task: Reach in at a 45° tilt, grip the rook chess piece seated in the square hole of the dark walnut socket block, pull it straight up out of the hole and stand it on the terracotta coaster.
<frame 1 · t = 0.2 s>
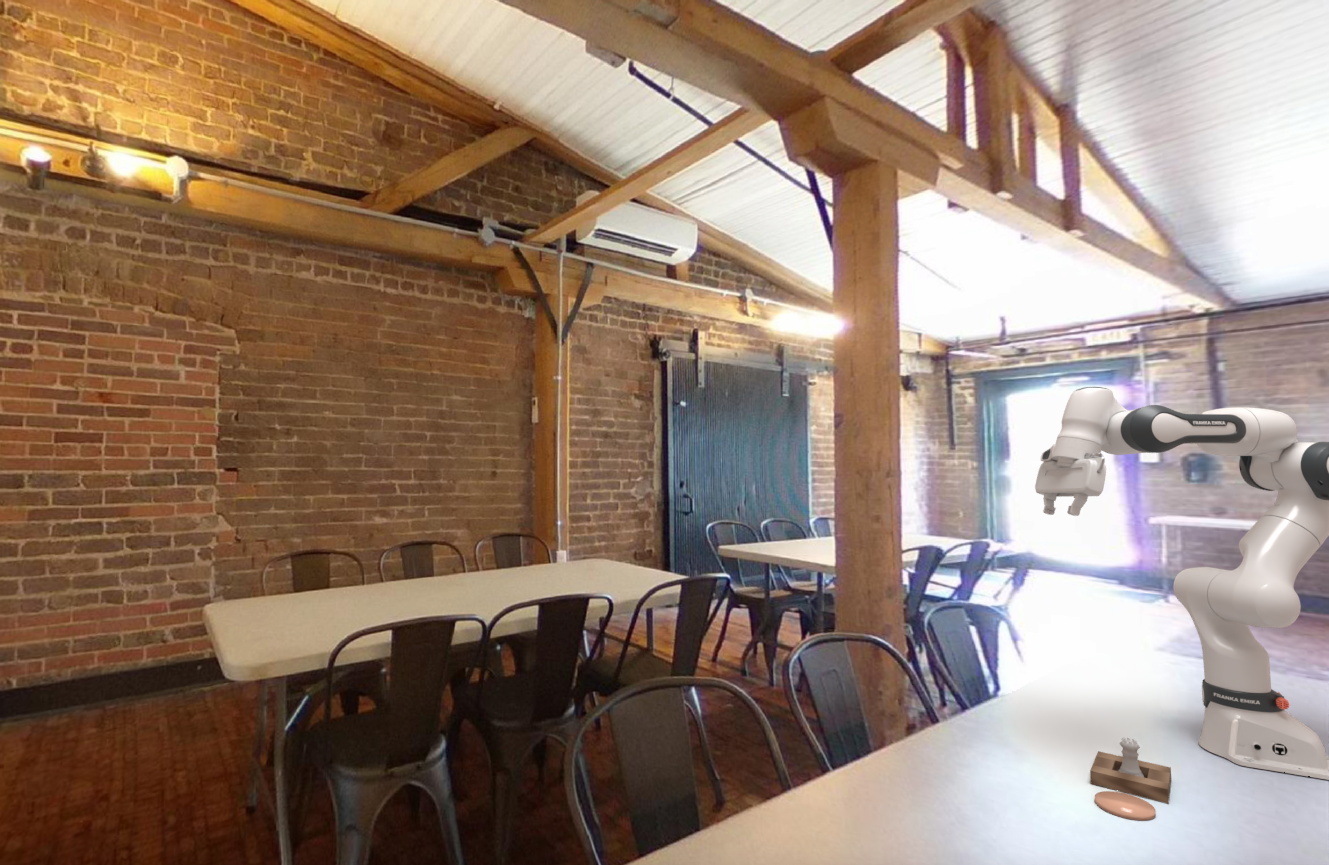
hand: (1060, 514, 146), 51 cm above the table, tool tilted 20°, fingers open, 8 cm apart
rook chess piece: (1131, 783, 128), resting in socket block
socket block: (1131, 782, 128), on the table
coaster: (1124, 807, 118), on the table
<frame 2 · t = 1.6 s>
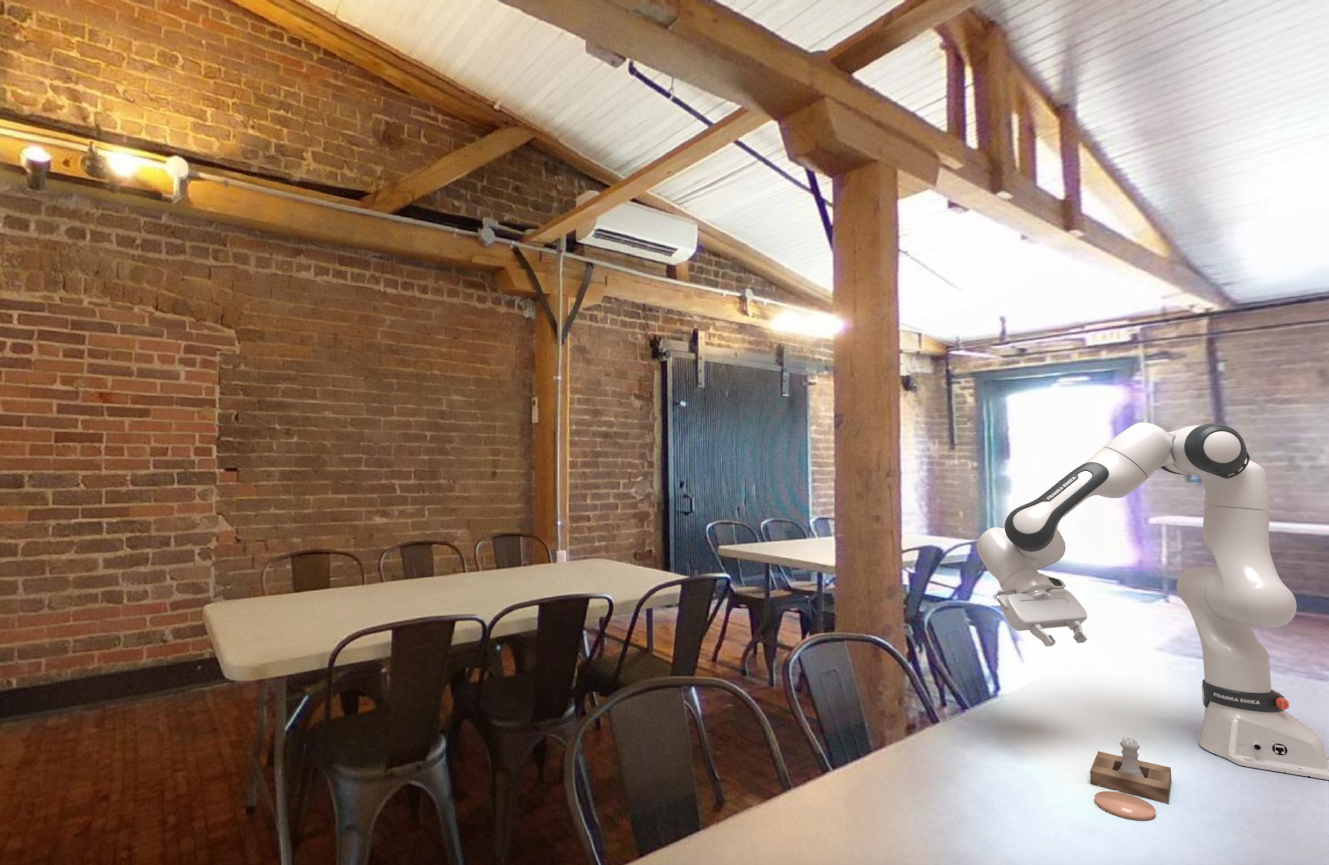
hand: (1067, 643, 141), 24 cm above the table, tool tilted 45°, fingers open, 8 cm apart
nothing on the table moved.
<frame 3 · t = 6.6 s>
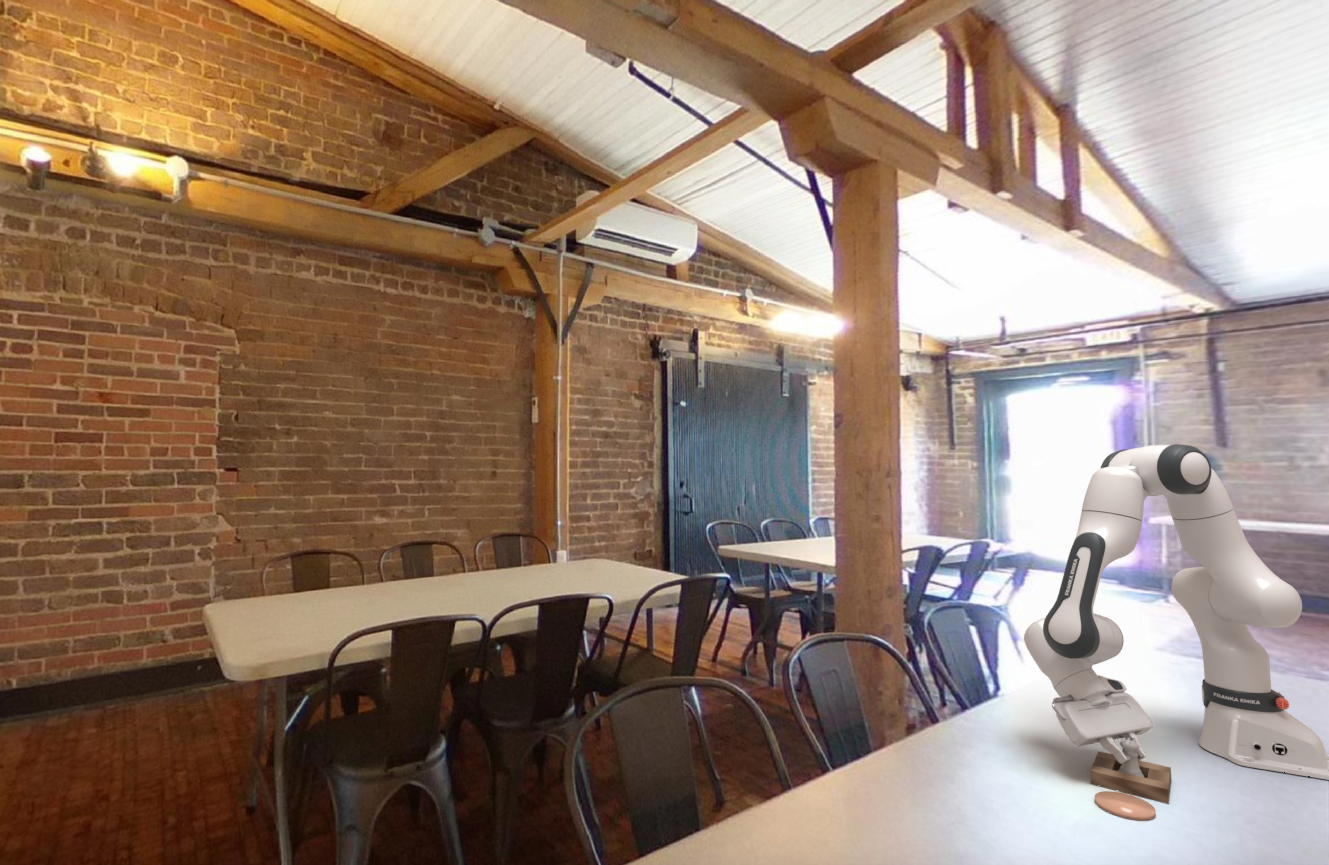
hand: (1133, 760, 128), 4 cm above the table, tool tilted 45°, fingers closed on rook chess piece, 3 cm apart
rook chess piece: (1131, 783, 128), resting in socket block, touching gripper
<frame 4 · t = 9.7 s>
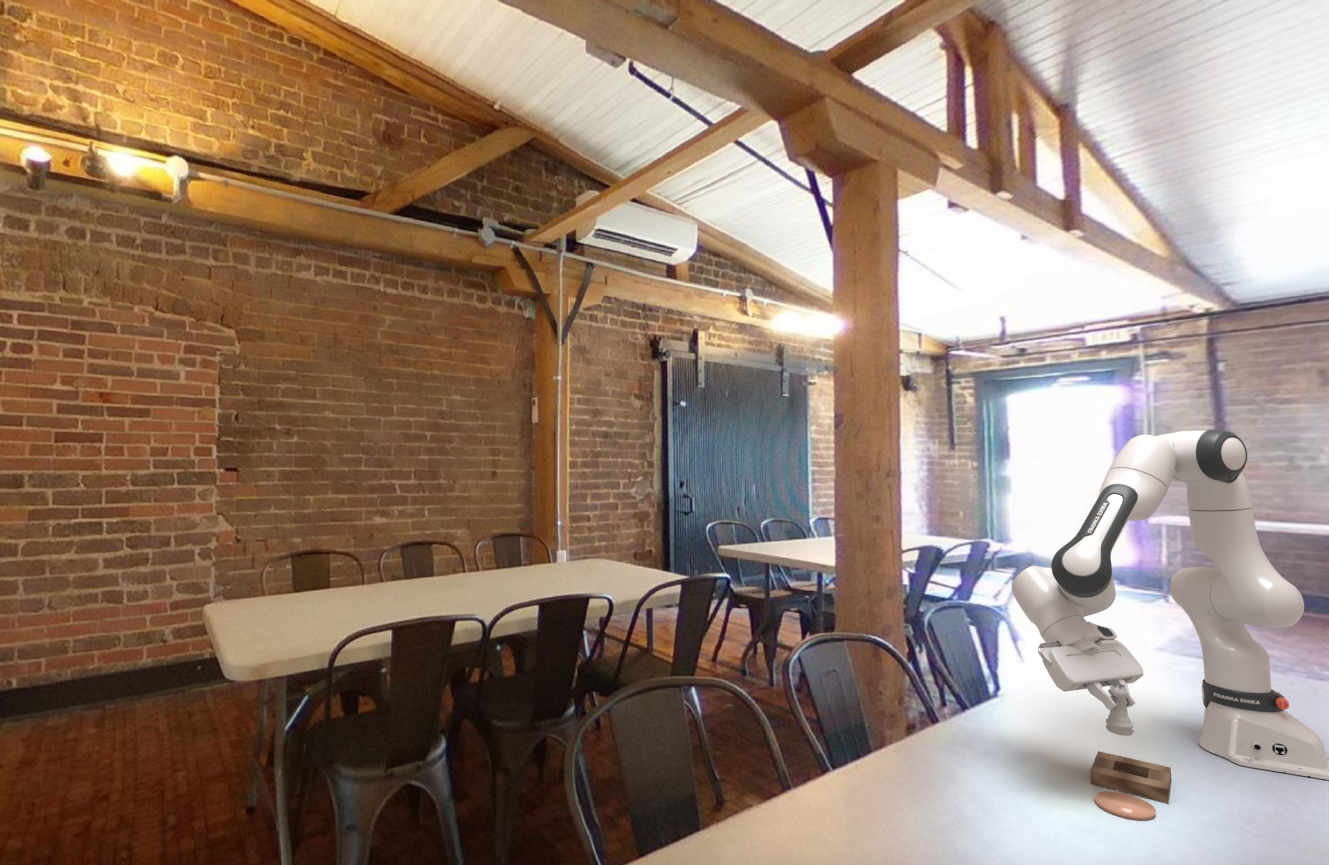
hand: (1122, 706, 121), 17 cm above the table, tool tilted 45°, fingers closed on rook chess piece, 3 cm apart
rook chess piece: (1119, 732, 122), point 12 cm above the table, touching gripper
when the fingers open (6 cm above the table, at t = 13.1 s): rook chess piece stays where it is, resting on coaster.
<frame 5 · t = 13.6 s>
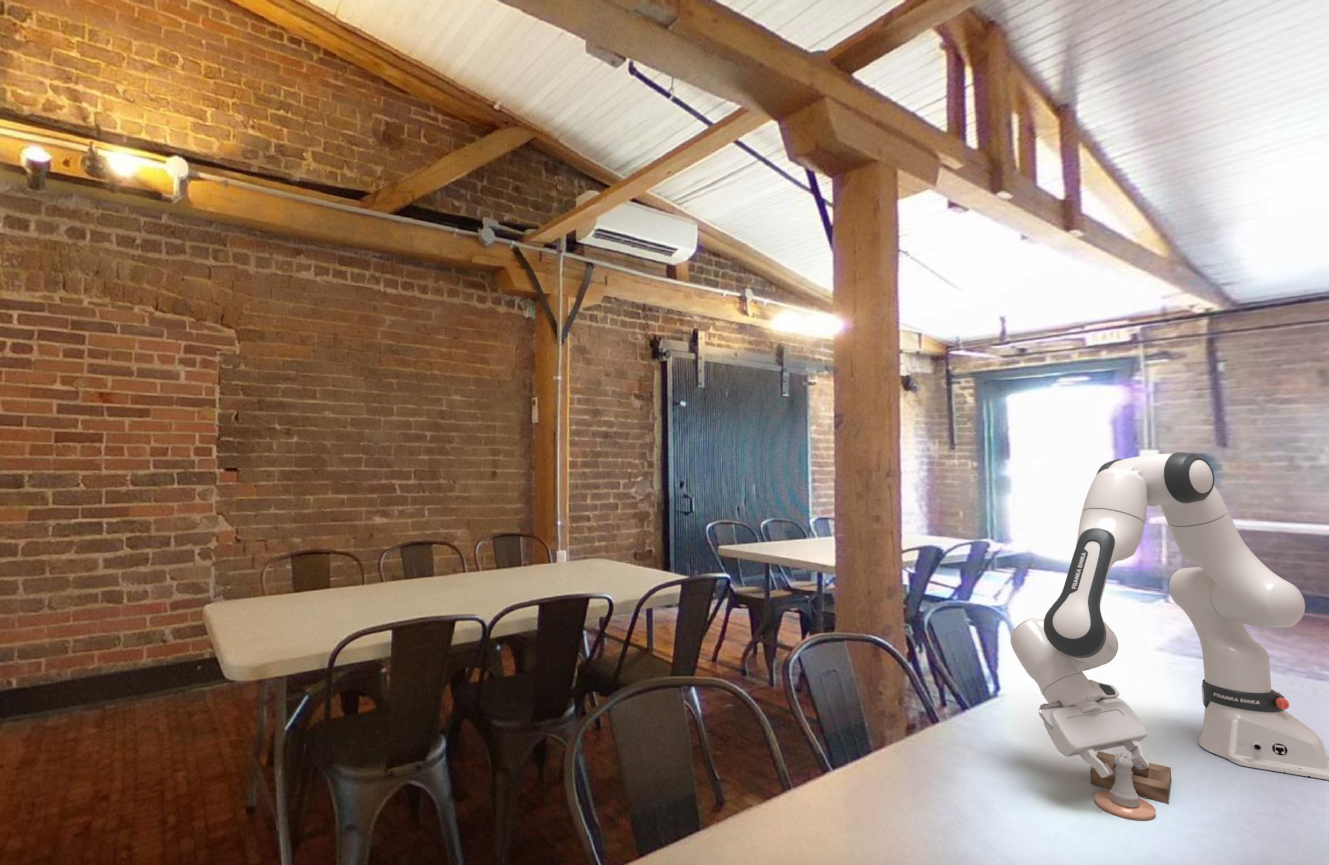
hand: (1126, 772, 118), 6 cm above the table, tool tilted 45°, fingers open, 8 cm apart
rook chess piece: (1124, 803, 118), point 1 cm above the table, touching coaster
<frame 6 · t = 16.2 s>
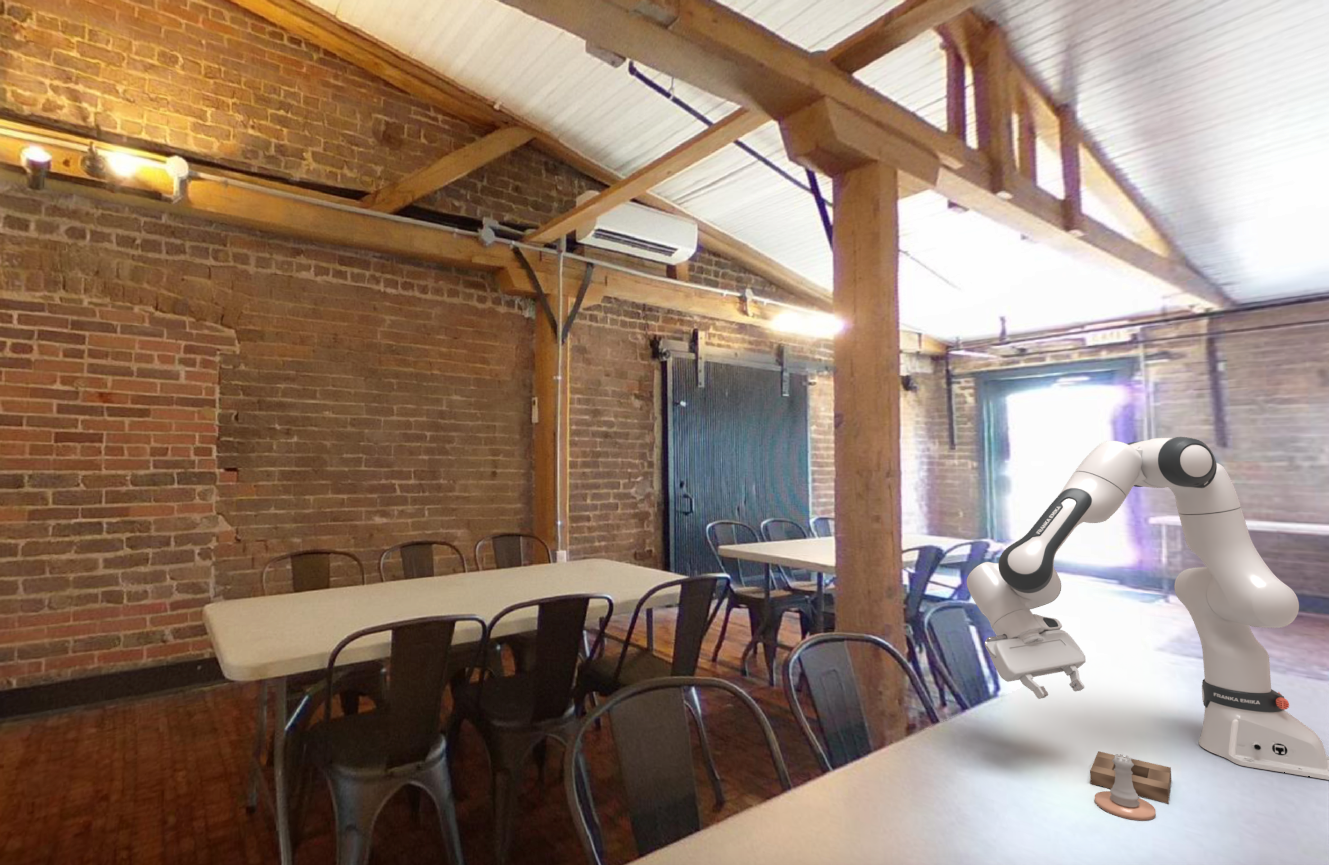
hand: (1062, 693, 132), 16 cm above the table, tool tilted 45°, fingers open, 8 cm apart
nothing on the table moved.
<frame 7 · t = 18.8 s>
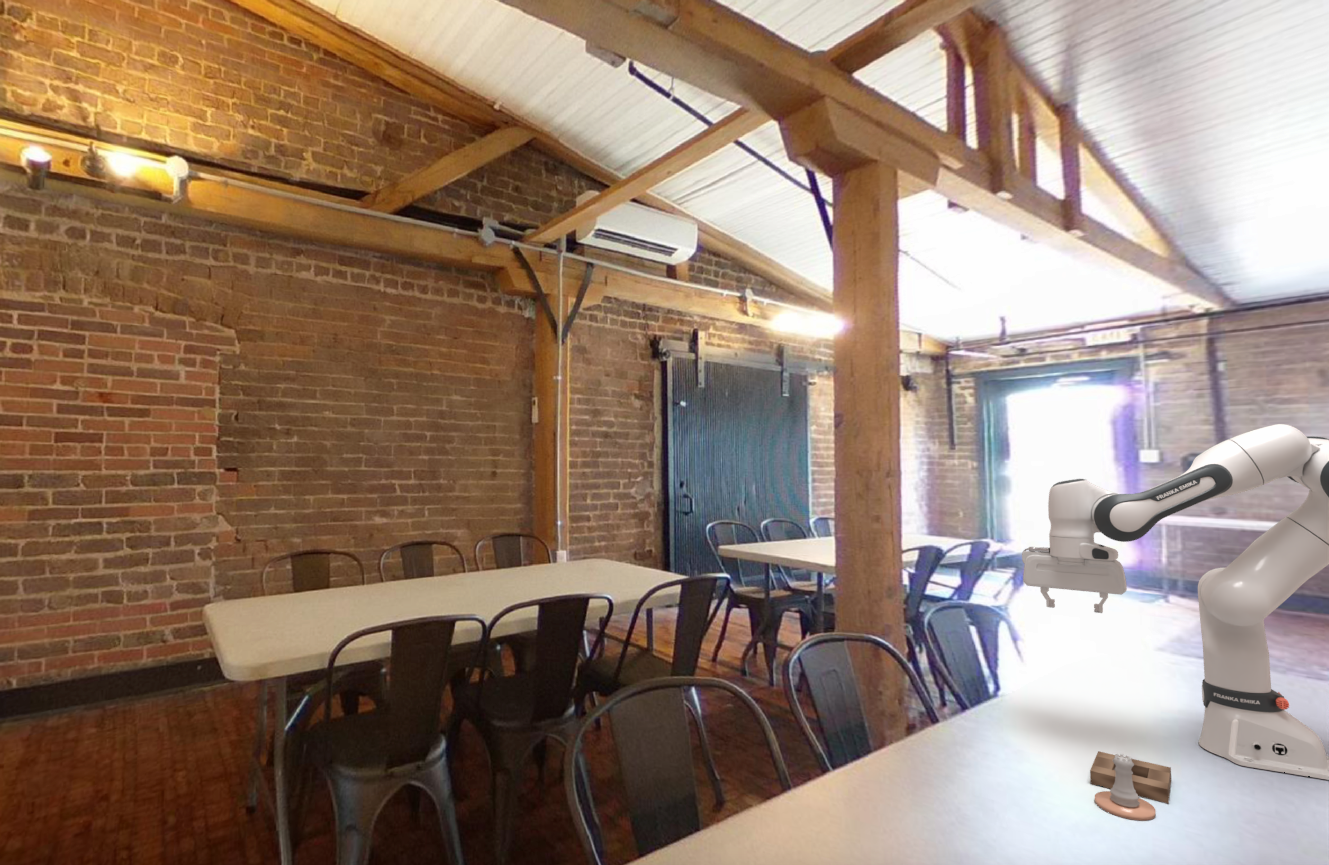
hand: (1074, 609, 151), 29 cm above the table, tool pointing down, fingers open, 8 cm apart
nothing on the table moved.
at the end: rook chess piece 0.2 cm off-centre on the coaster, point 0.6 cm above the coaster's base; rook chess piece tilted 0°; the gripper is holding nothing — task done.
